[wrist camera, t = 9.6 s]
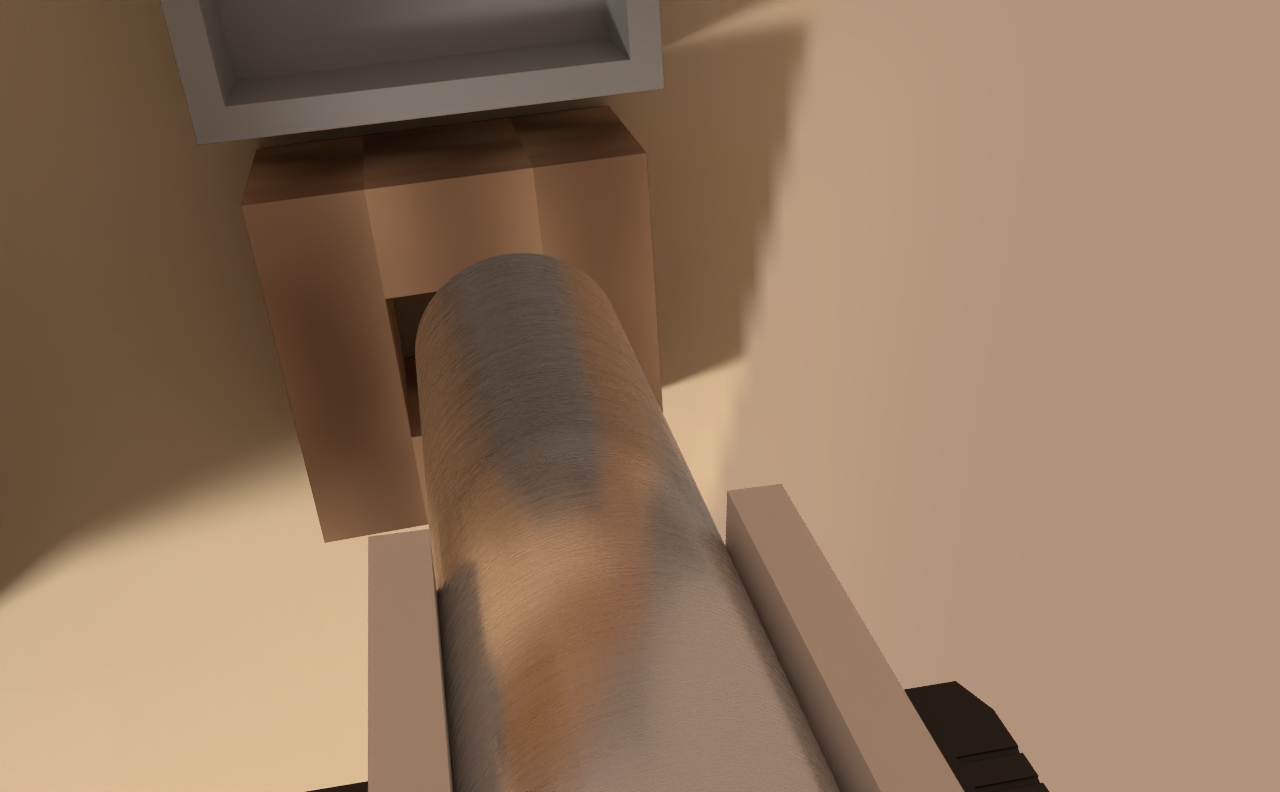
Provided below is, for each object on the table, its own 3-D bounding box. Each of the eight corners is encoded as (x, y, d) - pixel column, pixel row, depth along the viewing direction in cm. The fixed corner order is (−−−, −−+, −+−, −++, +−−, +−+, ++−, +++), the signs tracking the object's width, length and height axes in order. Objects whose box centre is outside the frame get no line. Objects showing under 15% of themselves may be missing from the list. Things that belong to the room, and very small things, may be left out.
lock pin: (424, 451, 22) (543, 1917, 7) (400, 260, 21) (497, 1708, 5) (624, 428, 23) (1136, 1708, 8) (620, 241, 21) (1295, 1454, 6)
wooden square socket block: (328, 453, 43) (324, 542, 38) (256, 148, 37) (240, 205, 32) (631, 402, 45) (667, 481, 40) (608, 105, 39) (646, 153, 34)
